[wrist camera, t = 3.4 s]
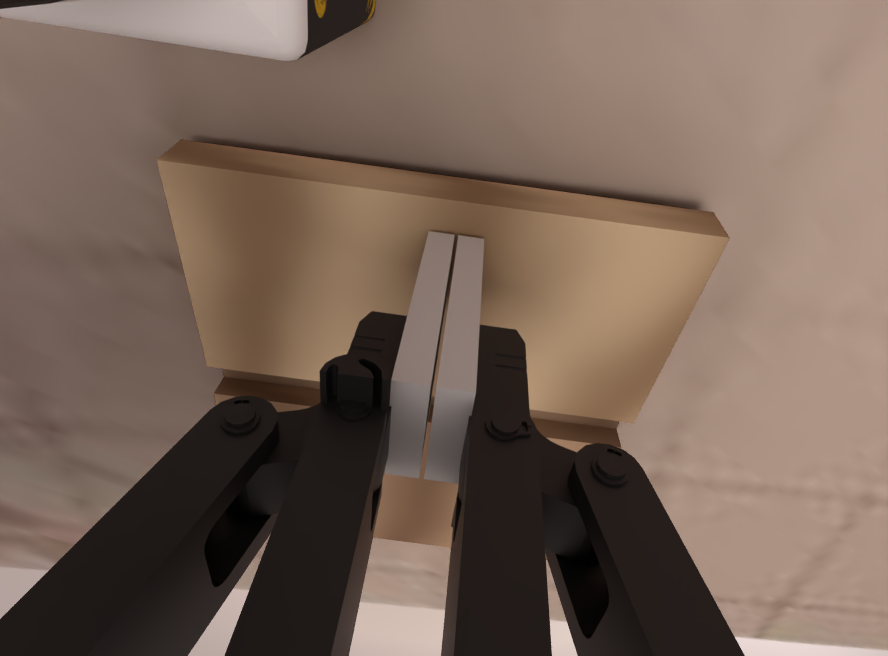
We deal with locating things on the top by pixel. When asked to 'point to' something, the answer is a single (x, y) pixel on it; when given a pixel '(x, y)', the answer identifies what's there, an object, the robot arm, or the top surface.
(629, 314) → the plank
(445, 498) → the laid board
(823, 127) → the top surface
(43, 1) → the medicine bottle
